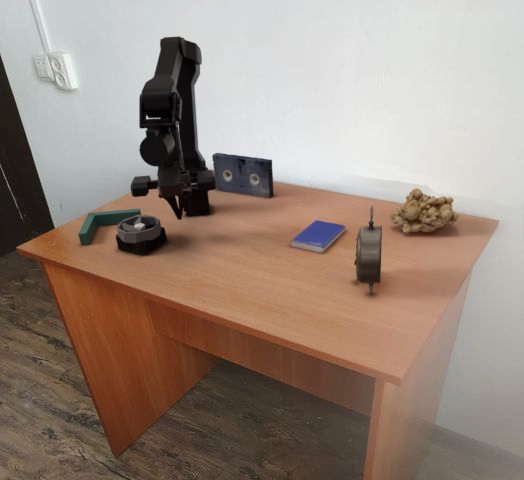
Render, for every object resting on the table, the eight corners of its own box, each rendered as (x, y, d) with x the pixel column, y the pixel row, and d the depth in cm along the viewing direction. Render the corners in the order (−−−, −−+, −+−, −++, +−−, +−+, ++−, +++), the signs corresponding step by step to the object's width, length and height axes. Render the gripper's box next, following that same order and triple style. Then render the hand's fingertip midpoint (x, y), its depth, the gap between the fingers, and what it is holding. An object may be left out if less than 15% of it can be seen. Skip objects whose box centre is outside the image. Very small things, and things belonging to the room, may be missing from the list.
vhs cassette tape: (274, 195, 141) (272, 159, 135) (268, 198, 139) (267, 162, 133) (221, 186, 149) (217, 151, 143) (215, 189, 147) (211, 155, 141)
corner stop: (142, 219, 133) (139, 208, 132) (136, 240, 123) (133, 229, 121) (91, 223, 133) (88, 212, 131) (81, 245, 123) (77, 234, 121)
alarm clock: (379, 298, 96) (387, 219, 86) (350, 297, 97) (355, 218, 87) (380, 270, 104) (387, 195, 94) (354, 269, 106) (358, 194, 95)
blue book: (322, 246, 111) (345, 225, 119) (290, 240, 115) (314, 219, 123) (322, 253, 112) (345, 231, 120) (290, 246, 116) (314, 225, 124)
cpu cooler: (139, 235, 112) (106, 227, 116) (144, 258, 115) (112, 250, 120) (168, 217, 119) (136, 211, 123) (172, 240, 122) (141, 232, 126)
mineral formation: (408, 211, 127) (468, 219, 119) (385, 239, 120) (447, 250, 112) (408, 181, 121) (471, 188, 113) (383, 209, 115) (448, 218, 107)
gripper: (119, 166, 101) (136, 237, 111) (211, 159, 102) (220, 230, 112) (127, 150, 110) (142, 217, 120) (211, 143, 111) (219, 210, 120)
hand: (180, 219), depth 118 cm, fingers closed
